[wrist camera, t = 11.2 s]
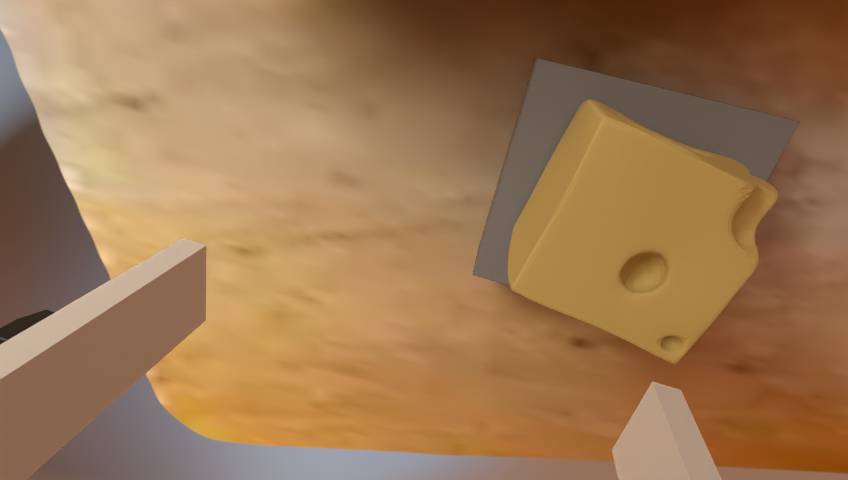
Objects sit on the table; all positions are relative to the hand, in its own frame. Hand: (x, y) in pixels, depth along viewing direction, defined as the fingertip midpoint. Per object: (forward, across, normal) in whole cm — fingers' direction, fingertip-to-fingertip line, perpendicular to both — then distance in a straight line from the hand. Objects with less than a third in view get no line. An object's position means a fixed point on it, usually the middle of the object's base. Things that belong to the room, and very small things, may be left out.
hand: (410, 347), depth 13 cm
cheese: (+21, +9, 0) cm, 23 cm away
